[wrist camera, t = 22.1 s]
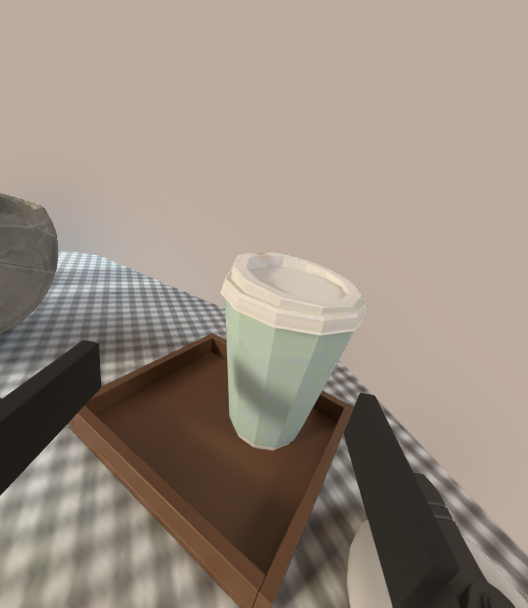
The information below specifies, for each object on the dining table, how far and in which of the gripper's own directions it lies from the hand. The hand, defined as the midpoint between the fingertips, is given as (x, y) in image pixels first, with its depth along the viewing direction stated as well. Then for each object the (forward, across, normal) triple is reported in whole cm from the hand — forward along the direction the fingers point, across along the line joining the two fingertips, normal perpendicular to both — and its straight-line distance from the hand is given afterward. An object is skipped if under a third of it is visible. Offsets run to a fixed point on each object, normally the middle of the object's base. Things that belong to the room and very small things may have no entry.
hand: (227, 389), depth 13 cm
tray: (+7, 0, -11) cm, 13 cm away
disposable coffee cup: (+8, +3, -10) cm, 13 cm away
